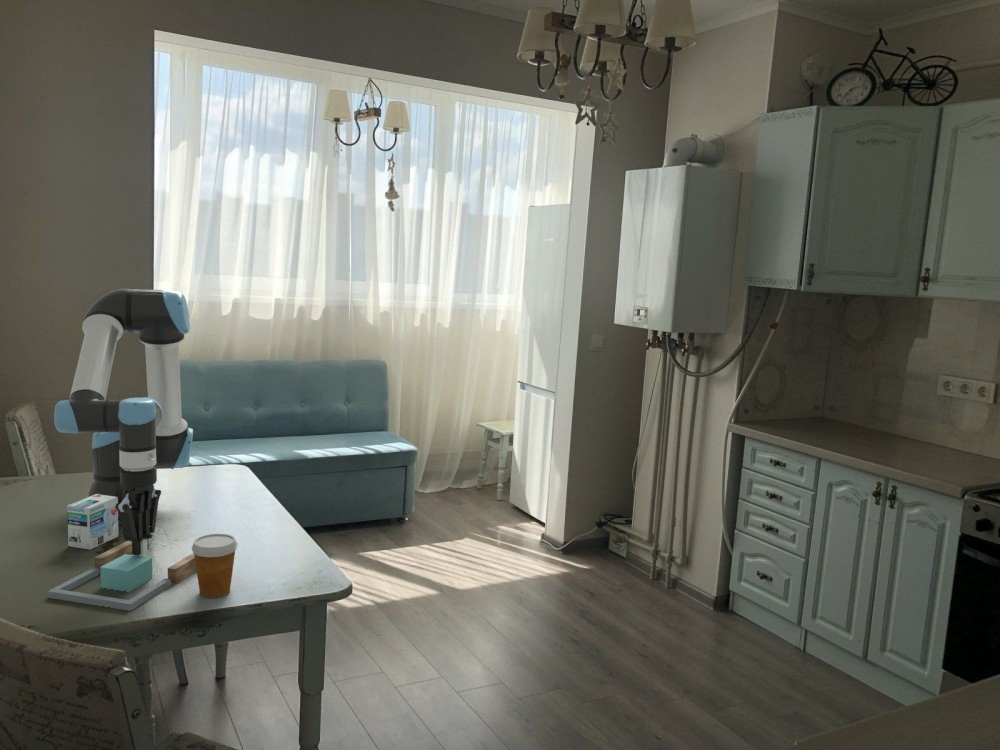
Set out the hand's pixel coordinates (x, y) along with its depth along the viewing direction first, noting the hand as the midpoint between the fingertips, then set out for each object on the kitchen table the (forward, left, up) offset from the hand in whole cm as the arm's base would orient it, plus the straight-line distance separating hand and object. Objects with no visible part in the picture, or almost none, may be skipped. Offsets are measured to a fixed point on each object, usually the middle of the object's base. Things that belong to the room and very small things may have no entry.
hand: (140, 566), depth 180 cm
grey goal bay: (+9, 0, -2) cm, 9 cm away
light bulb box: (-14, -24, -2) cm, 28 cm away
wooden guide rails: (-5, 0, -2) cm, 5 cm away
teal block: (+5, 0, -2) cm, 5 cm away
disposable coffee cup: (+3, +21, -2) cm, 21 cm away
